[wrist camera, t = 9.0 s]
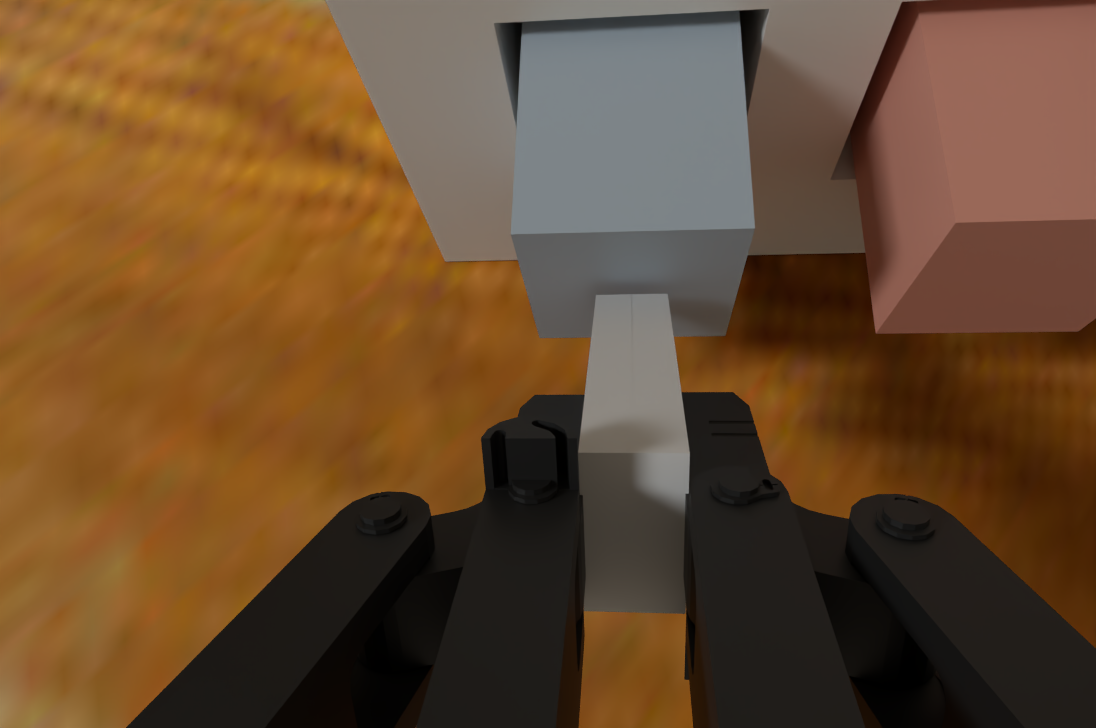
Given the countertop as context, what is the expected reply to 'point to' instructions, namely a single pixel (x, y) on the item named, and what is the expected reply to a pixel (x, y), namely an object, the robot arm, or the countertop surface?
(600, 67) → the slate key
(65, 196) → the countertop surface
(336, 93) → the countertop surface
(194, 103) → the countertop surface
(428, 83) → the plain grey box
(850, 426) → the countertop surface
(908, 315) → the brick key
